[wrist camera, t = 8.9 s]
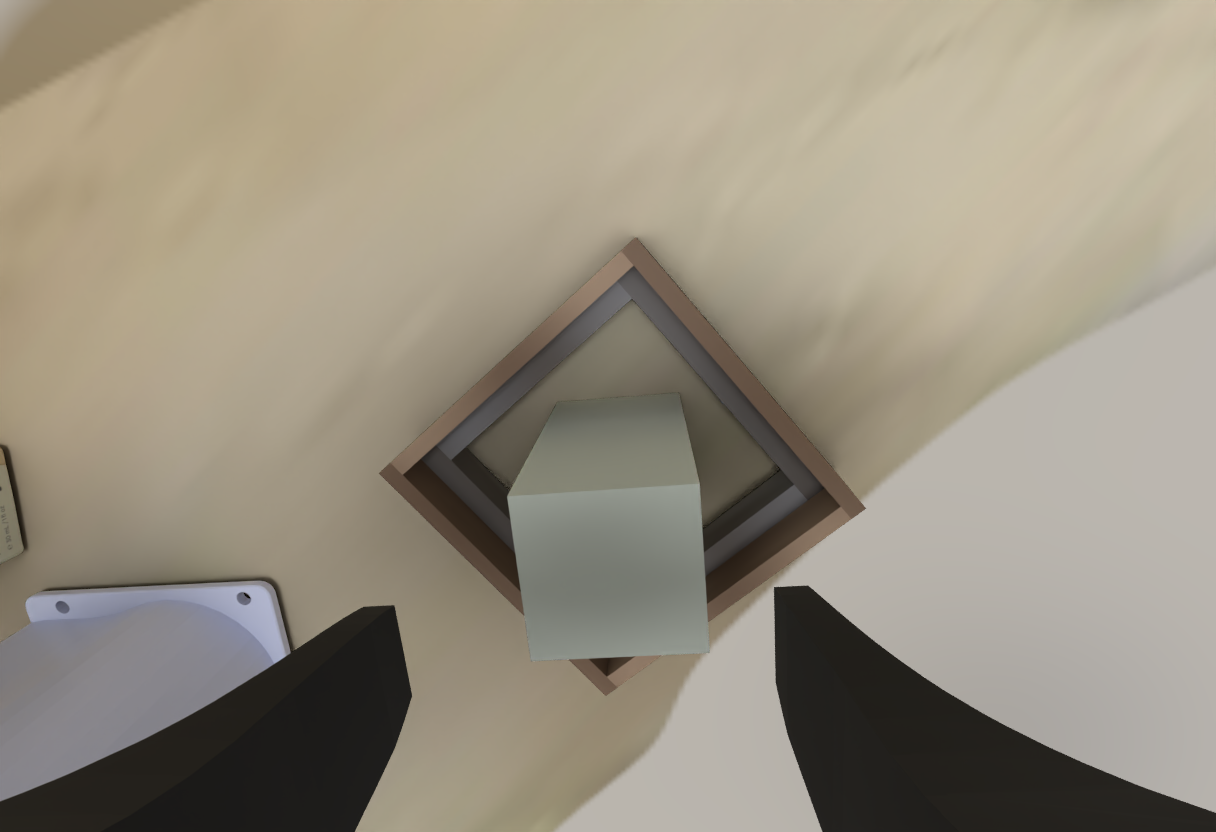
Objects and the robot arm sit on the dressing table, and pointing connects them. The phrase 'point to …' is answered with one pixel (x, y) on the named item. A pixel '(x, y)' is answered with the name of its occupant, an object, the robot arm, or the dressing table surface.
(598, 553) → the sage peg
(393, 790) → the dressing table surface
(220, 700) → the robot arm
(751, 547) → the bore box
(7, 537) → the skincare box
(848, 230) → the dressing table surface
